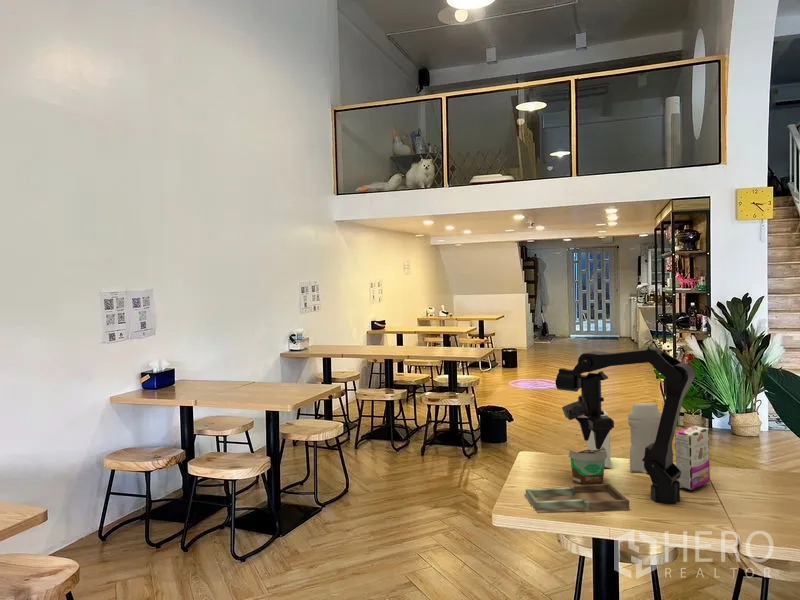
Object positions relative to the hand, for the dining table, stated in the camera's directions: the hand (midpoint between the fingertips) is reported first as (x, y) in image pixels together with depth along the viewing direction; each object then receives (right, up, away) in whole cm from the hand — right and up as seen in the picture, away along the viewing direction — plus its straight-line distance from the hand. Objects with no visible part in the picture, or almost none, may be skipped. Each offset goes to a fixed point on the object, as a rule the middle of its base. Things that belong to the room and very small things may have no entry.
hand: (592, 444), depth 174 cm
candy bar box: (+29, -12, -2) cm, 32 cm away
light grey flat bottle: (+21, -11, +11) cm, 26 cm away
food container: (0, -12, +1) cm, 12 cm away
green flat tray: (-9, -13, -14) cm, 21 cm away
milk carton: (+8, -11, +18) cm, 23 cm away
